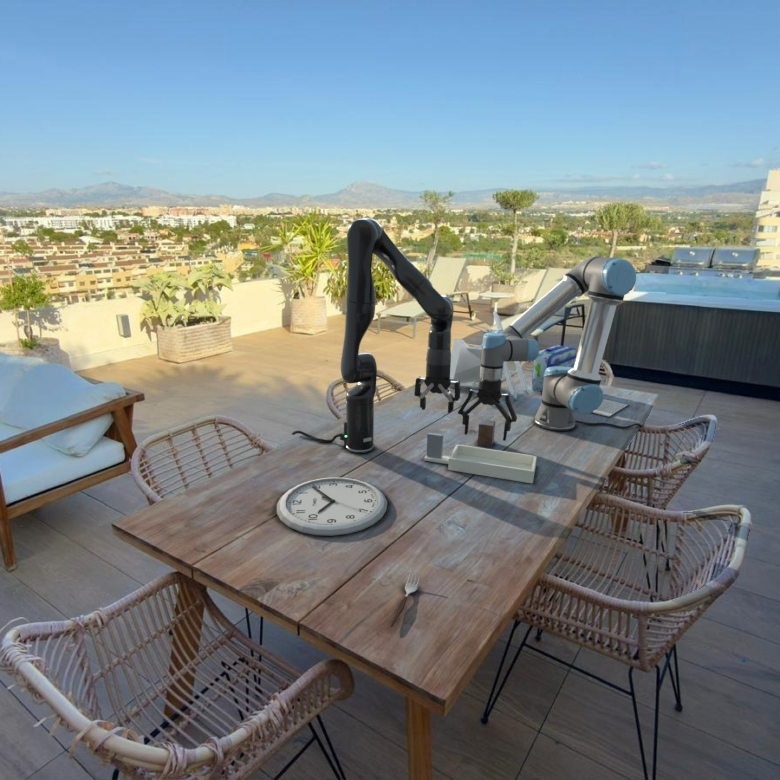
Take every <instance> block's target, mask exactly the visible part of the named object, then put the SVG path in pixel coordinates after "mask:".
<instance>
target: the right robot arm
mask: <svg viewBox="0 0 780 780" xmlns="http://www.w3.org/2000/svg"><path fill="white" fill-rule="evenodd" d="M636 282H637V271H636V268H635V267H634V265H633V264H632V263H631V262H630V261H628V260H626V259H624V258H620V257H608V256H598V255H597V256H591V257H589V258H587V259H584V260H582V261H580V263H578V264H576V265H575V266H573V268H570V270H568V271H567V272H566V273H565V274H564V275H563V276H562V277H561V281H560V282H559V283H557V284H556V285H555V286H554V287H553V288H552V289H551V290H549V291H548V292H547V293H546V294H544V296H542V297H541V298H540V299H539V300H537V301H536V302H535V303H534V304H533V305H531V306H530V307H529V308H528V309H527V310H526V311H524V312H523V313H522V314H521V315H520V316H518V317H517V318H515V320H514V321H512V322H511V323H510V324H509V325H507V326H506V327H505V328H503V330H498V329H497V330H495V331H494V332H487V333H484V335H483V337H482V342H481V345H482V355H481V365H480V377H481V378H480V379H479V382H478V388H477V390H474V388H470V389H469V391H468V395H467V397H466V399H465V400H464V402H463V404H462V405H461V406H460V408H459V410H458V411H457V414H458V415H461V416H462V425H463V426H464V435H465V436H466V435H468V433H469V425H470V424H469V423H470V413H471V412H472V411H474V410H475V409H476V408H477V407H478V406H479V405H480V404H482V405H488V406H495V408H497V409H498V411H499V412H500V414H501V416H502V417H503V418H504V419H505V422H504V428H503V437H502V441H506V440H507V434H508V432H510V431H511V429H512V423H516V422H517V420H518V416H517V414H516V412H515V409H514V407H513V404H512V401H511V395H510V394H511V393H510V392H507V393H502V392H501V391H502V379H503V373H504V370H503V363H504V361H507V362H514V361H519V362H531V361H532V362H534V360H535V359H536V358H537V357H538V355H539V351H540V345H539V342H538V341H537V339H534V338H528V337H529V336H530V335H531V334H533V333H534V332H535V331H536V330H538V329H539V328H540V327H541V326H542V325H544V324H545V323H546V322H547V321H548V320H549V319H551V318H552V317H554V315H556V314H557V313H558V312H559V311H560V310H562V309H563V308H564V307H565V306H567V305H568V304H569V303H570V302H571V301H572V300H573V299H575V298H580V297H582V296H583V295H584V294H585V293H587V298H588V299H589V305H588V309H587V313H586V316H585V321H584V325H583V327H582V328H583V329H582V331H581V336H580V340H579V345H578V347H577V350H576V359H575V363H574V367H573V368H572V367H560V366H557V367H548V368H547V369H546V370H545V373H544V382H543V391H542V394H541V402H540V405H539V407H538V410H537V411H536V413H535V417H534V424H535V425H536V426H537V427H539V428H542V429H544V430H549V431H556V432H567V431H572V430H574V429H575V428H576V423H577V424H582V425H585V426H599V425H600V426H601V425H604V426H610V427H612V428H613V427H614V428H619V429H629V428H632V427H635V426H638V427H639V428H643V426H642V425H641V424H640V423H636V422H635V423H633V424H630V425H627V426H626V425H625V426H624V425H623V426H622V425H617V424H613V423H608V422H585V421H580V420H577V419H576V418H575V417H576V416H575V413H576V414H580V415H589V414H591V413H592V412H593V411H594V410H596V409H597V408H598V407H599V406H600V405H601V403H602V401H603V399H604V392H603V389H602V387H600V386H601V382H602V376H601V375H600V369H601V365H602V361H603V357H604V353H605V350H606V346H607V343H608V339H609V335H610V332H611V328H612V325H613V321H614V317H615V315H616V314H615V313H616V309H617V306H618V305H620V304H621V303H623V302H624V299H625V296H626V295H628V294H630V292H631V291H632V290H633V289H634V287H635V285H636ZM475 396H477V398H478V399H476V401H474V402H473V403H472V404H471V405H470V406H469V407H468V408H467V409H466V410H465V408H466V406H468V404H469V403H470V400H471V399H472V398H473V397H475ZM501 399H502V400H503V401H505V405H506V407H507V410H508V411H507V410H506V408H505V407H504V406H503V404H502V403H501V401H500V400H501ZM508 412H509V413H508Z"/></svg>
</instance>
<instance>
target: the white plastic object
mask: <svg viewBox="0 0 780 780" xmlns="http://www.w3.org/2000/svg"><path fill="white" fill-rule="evenodd" d="M492 315H493V319H494V321H495V324H496V325H495V326H496V328H497V330H504V328H503V325H502V321H501V318H500V315H499V314H498V312H497V311H496V310H495V311H492ZM481 355H482V344H479V345H473V346H469V345H468V343H466V342H465V340H464V339H463V338H460V339H458V338H454V340H453V344H452V348H451V367H450V380H451V381H460V384H467V383H468V384H469V383H473V384H477V383H479V379H480V378H481V377H480V365H481ZM513 363H514V366H515V369H516V372H517V376H518V380H519V382H520V385H521V389H522V391H523V393H524V395H525V396H526V397H528V396H531V395H530V390H529V388H528V387H529V386H528V384H527V381H526V378H525V375H524V371H523V369H522V368H523V367H522V366H521V361H513ZM503 373H504V376H505V380H506V383H507V386H508V390H509V393H510V394H511V395H512V397H513V398H514V399H515V400H517V392H516V391H517V390H516V388H515V385H514V381H513V378H512V375H511V371H510V369H509V365H508V361H504V363H503Z"/></svg>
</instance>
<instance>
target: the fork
mask: <svg viewBox="0 0 780 780" xmlns="http://www.w3.org/2000/svg"><path fill="white" fill-rule="evenodd" d="M415 572H416V571H415V570H414V572H413V573H412V569H411V570H410V573H409V576H408V577H407V578H408V579H407V581H406V583H405V586H404V590H405V592H406V594H405V595H404V597H403V598H402V599H401V601H400V602H399V604H398V605H397V608H396V610H395V613H394V616H393V619H392V621H391V624H390V628H392V627H393V626H394V624H395V623H396V621H397V620H398V618H399V616H400V615H401V613H402V612H403V610H404V608H405V605H406V602H407V599H408V597H409V595H410V594H413V593H415V592H417V590H418V588H419V584H420V579H421V575H422V572H420V573H419V572H418V571H417V572H416V575H415ZM418 573H419V576H418ZM411 575H412V577H411ZM414 576H415V578H414ZM417 578H418V579H417ZM413 580H414V581H413ZM416 582H417V583H416Z"/></svg>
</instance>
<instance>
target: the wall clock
mask: <svg viewBox="0 0 780 780" xmlns="http://www.w3.org/2000/svg"><path fill="white" fill-rule="evenodd" d="M387 509H388V500H387V498H386V496H385V494H384V493H383V492H382V491H381V490H380V489H379V488H377V487H376V486H374V485H372V484H371V483H369V482H365V481H362V480H359V479H355V478H349V477H338V476H337V477H335V476H333V477H332V476H331V477H322V478H317V479H312V480H307V481H305V482H302V483H299V484H297V485H295V486H293V487H292V488H290V489H288V490H287V491H286V492H285V493H284V494H283V495H281V496H280V498H279V499H278V502H277V503H276V515H277V517H278V518H279V520H280V521H281V522H282V523H283V524H285V525H286V526H287V527H288V528H290V529H293V530H295V531H297V532H299V533H303V534H308V535H312V536H327V537H328V536H329V537H331V536H332V537H333V536H342V535H350V534H352V533H356V532H361V531H363V530H366V529H368V528H369V527H372V526H373V525H375V524H376V523H378V522H379V521H380V520H381V519H382V518H383V517H384V516H385V514H386V512H387Z"/></svg>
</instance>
